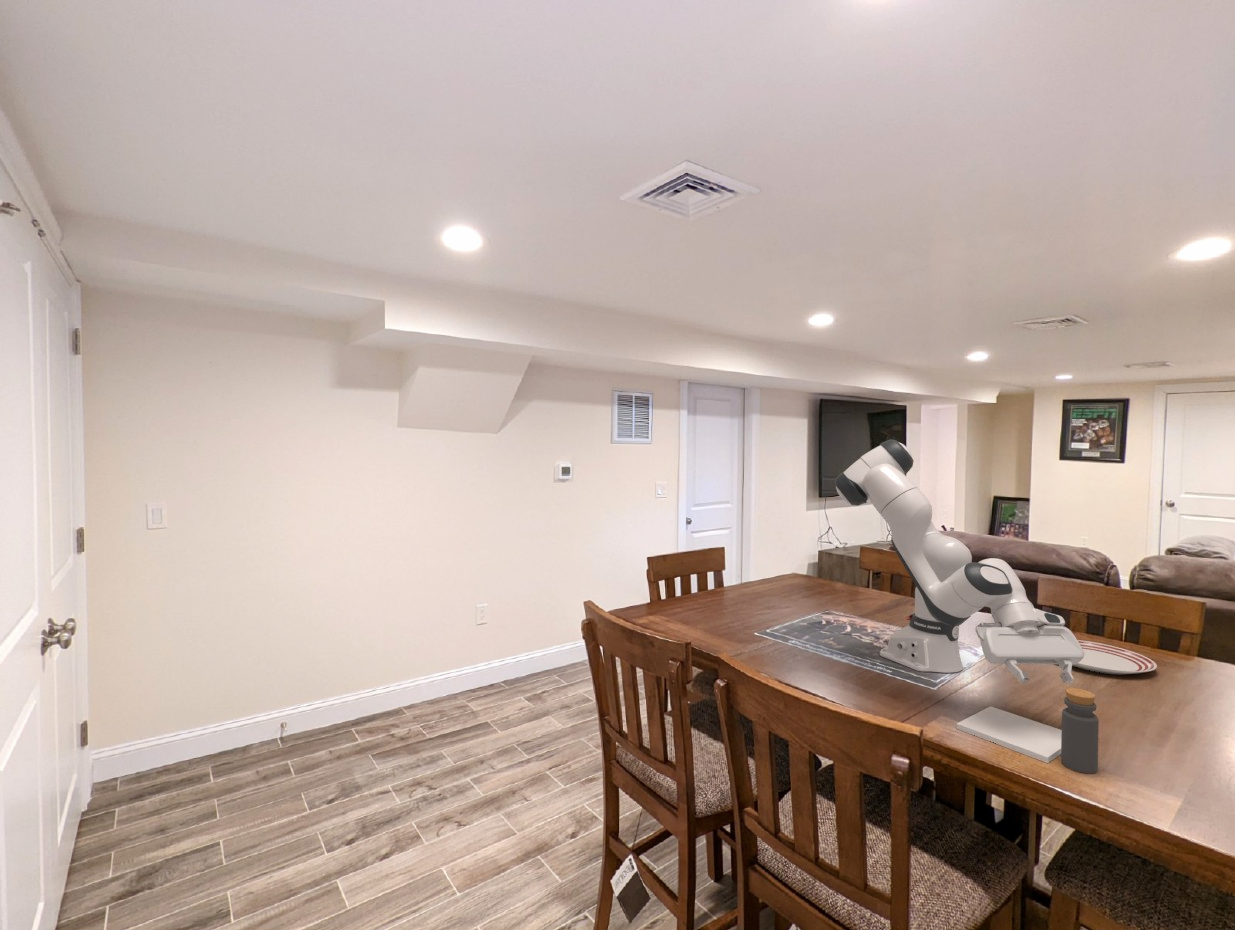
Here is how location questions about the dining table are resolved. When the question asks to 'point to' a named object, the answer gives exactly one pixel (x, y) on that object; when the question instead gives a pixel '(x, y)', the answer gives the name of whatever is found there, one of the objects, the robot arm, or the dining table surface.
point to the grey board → (1015, 733)
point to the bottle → (1079, 732)
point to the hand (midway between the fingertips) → (1046, 681)
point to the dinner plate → (1112, 659)
